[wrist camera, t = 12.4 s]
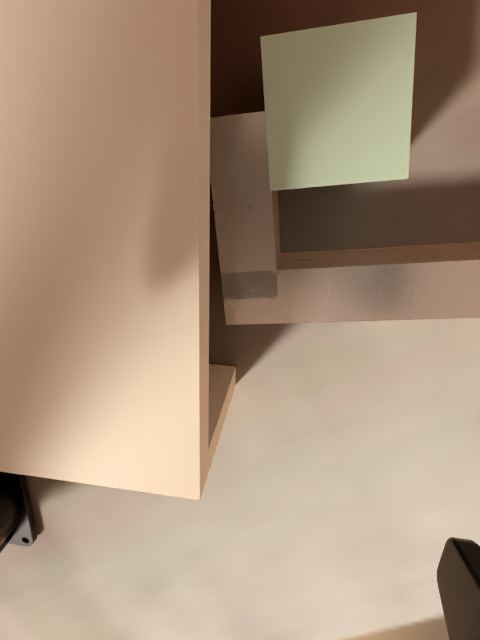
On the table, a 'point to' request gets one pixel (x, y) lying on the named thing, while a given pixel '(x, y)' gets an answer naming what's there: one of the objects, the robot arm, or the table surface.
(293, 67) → the mint cube
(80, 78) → the low cubby
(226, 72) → the table surface
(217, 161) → the pale grey angled bracket
